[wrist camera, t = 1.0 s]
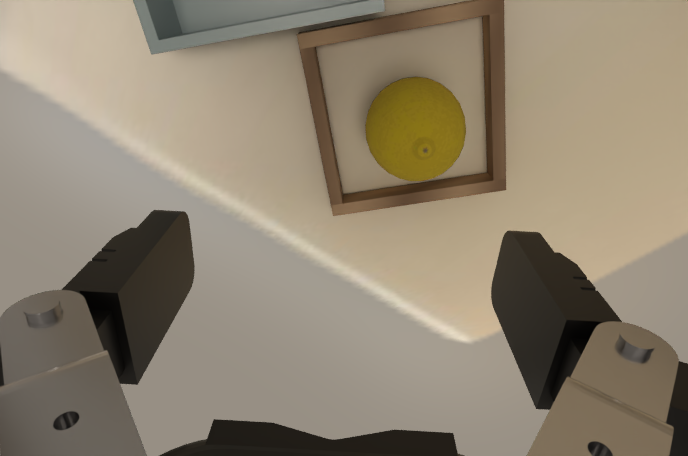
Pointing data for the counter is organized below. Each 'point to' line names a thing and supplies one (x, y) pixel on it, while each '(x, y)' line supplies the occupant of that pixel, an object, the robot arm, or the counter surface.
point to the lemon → (415, 129)
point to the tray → (491, 7)
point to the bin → (236, 18)
